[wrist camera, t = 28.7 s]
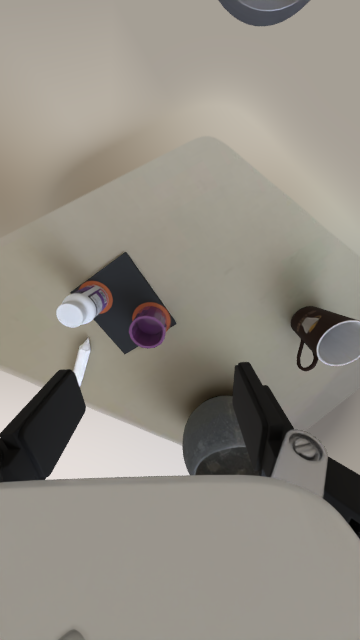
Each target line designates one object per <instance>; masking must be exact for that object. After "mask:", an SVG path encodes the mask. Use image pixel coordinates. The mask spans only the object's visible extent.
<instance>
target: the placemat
mask: <svg viewBox="0 0 360 640" xmlns="http://www.w3.org/2000/svg"><path fill="white" fill-rule="evenodd" d="M88 285H97V286H99V287H101V288H103V289H104V290H105V291H106V293H107V295H108V305H107V306H106V308H105V309H104V310H103V311H101V312H100V313H99V314H98V315H97V316H96V317H95V318H94V320H95V321H96V322H97V323H98V325H99V326H100V327H101V328H102V329H103V330H104V331H105V332H106V334H107V335H108V336H109V337H110V338H111V339H112V340H113V342H114V343H115V344H116V345H117V346H118V347H119V348H120V349H121V351H122V352H123V353H124V354H126V353H128V352H130V351H131V350H133V349H135V348H136V347H138V345H136V344H135V343H134V342H133V341H132V339H131V337H130V334H129V328H130V325H131V323H132V321H133V319H134V318H135V316H136V314H137V313H138V311H139V310H140V309H142V308H144V307H147V306H154V307H157V308H159V309H161V310H162V311H163V312H164V313H165V315H166V317H167V328H166V331H167V330H168V329H169V328H170V327H172V326H174V325H175V324H176V322H175V320H174V319H173V317H172V316H171V315H170V313H169V312H168V310H167V309H166V308H165V306H164V305H163V303H162V302H161V301H160V299H159V298H158V296H157V295H156V294H155V292H154V291H153V289H152V288H151V286H150V285H149V284H148V282H147V281H146V279H145V278H144V277H143V275H142V274H141V272H140V271H139V270H138V268H137V267H136V265H135V264H134V263H133V261H132V260H131V258H130V257H129V255H128V254H127V253H126V252H125V253H124V254H122V255H121V256H120V257H118V258H117V259H116V260H114V261H113V262H111V263H110V264H109V265H107V266H106V267H105V268H103V269H102V270H101V271H99V272H98V273H96V274H95V275H94V276H92V277H91V278H90V279H88V280H87V281H86V282H84V283H83V284H81V285H80V286H79V287H77V288H76V289H75V290H73V291H72V292H70V293H71V294H72V293H74V292H76V291H78V290H80V289H82V288H84V287H86V286H88Z"/></svg>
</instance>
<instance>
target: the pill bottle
mask: <svg viewBox="0 0 360 640" xmlns="http://www.w3.org/2000/svg"><path fill="white" fill-rule="evenodd" d="M107 305H108V295H107V293H106V291H105V290H104V289H103V288H101V287H99V286H97V285H88V286H86V287H84V288H82V289H80V290H78V291H76V292H74V293H72V294H70V295H68V296H67V297H66V298H65V299H64V300H63V303H62V304H61V305H60V306H59V307H58V308H57V311H56V314H57V318H58V320H59V321H60V322H61V323H62V324H63V325H65V326H67V327H78V326H79V325H81V324H87V323H89V322H91V321H92V320H93V319H94V318H95V317H96V316H97V315H98V314H99V313H100V312H101V311H103V310H104V309H105V308H106V306H107Z"/></svg>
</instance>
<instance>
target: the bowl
mask: <svg viewBox="0 0 360 640" xmlns="http://www.w3.org/2000/svg"><path fill="white" fill-rule="evenodd" d="M232 398H233V396H219V397H215V398H211V399H209V400H207V401H205V402H203V403H202V404H201V405H199V406H198V407H197V408H196V409H195V410H194V411H193V413H192V414H191V415H190V417H189V419H188V421H187V424H186V426H185V429H184V434H183V456H184V461H185V464H186V467H187V469H188V472H189V474H190V475H253V476H259V474H258V471H254V469H253V467H252V464H251V461H250V458H249V455H248V452H247V449H246V445H245V442H244V439H243V436H242V433H241V430H240V427H239V424H238V421H237V417H236V414H235V411H234V408H233V403H232Z"/></svg>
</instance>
